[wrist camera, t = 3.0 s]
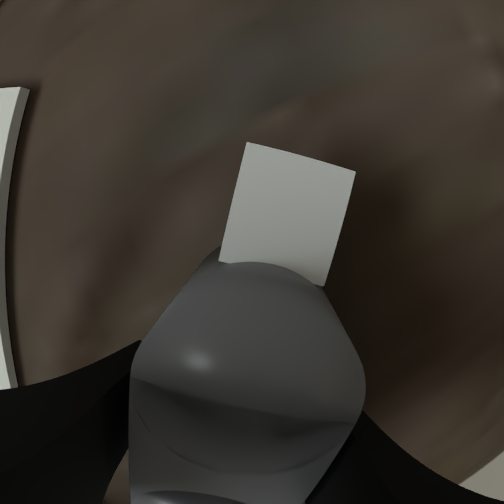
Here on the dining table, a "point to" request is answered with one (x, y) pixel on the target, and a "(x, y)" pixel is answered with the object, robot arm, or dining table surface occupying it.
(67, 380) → the robot arm
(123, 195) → the dining table surface
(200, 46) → the dining table surface
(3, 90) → the rubber mat
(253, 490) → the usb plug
